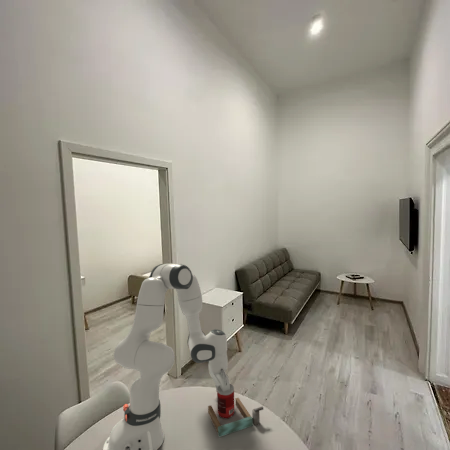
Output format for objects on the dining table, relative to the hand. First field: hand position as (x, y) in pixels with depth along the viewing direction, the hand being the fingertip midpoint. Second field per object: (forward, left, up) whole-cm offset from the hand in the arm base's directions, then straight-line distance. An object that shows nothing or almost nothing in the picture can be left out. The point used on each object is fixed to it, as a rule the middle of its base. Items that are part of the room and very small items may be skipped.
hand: (219, 393), depth 124 cm
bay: (+3, -13, -4) cm, 14 cm away
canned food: (0, -9, -4) cm, 9 cm away
